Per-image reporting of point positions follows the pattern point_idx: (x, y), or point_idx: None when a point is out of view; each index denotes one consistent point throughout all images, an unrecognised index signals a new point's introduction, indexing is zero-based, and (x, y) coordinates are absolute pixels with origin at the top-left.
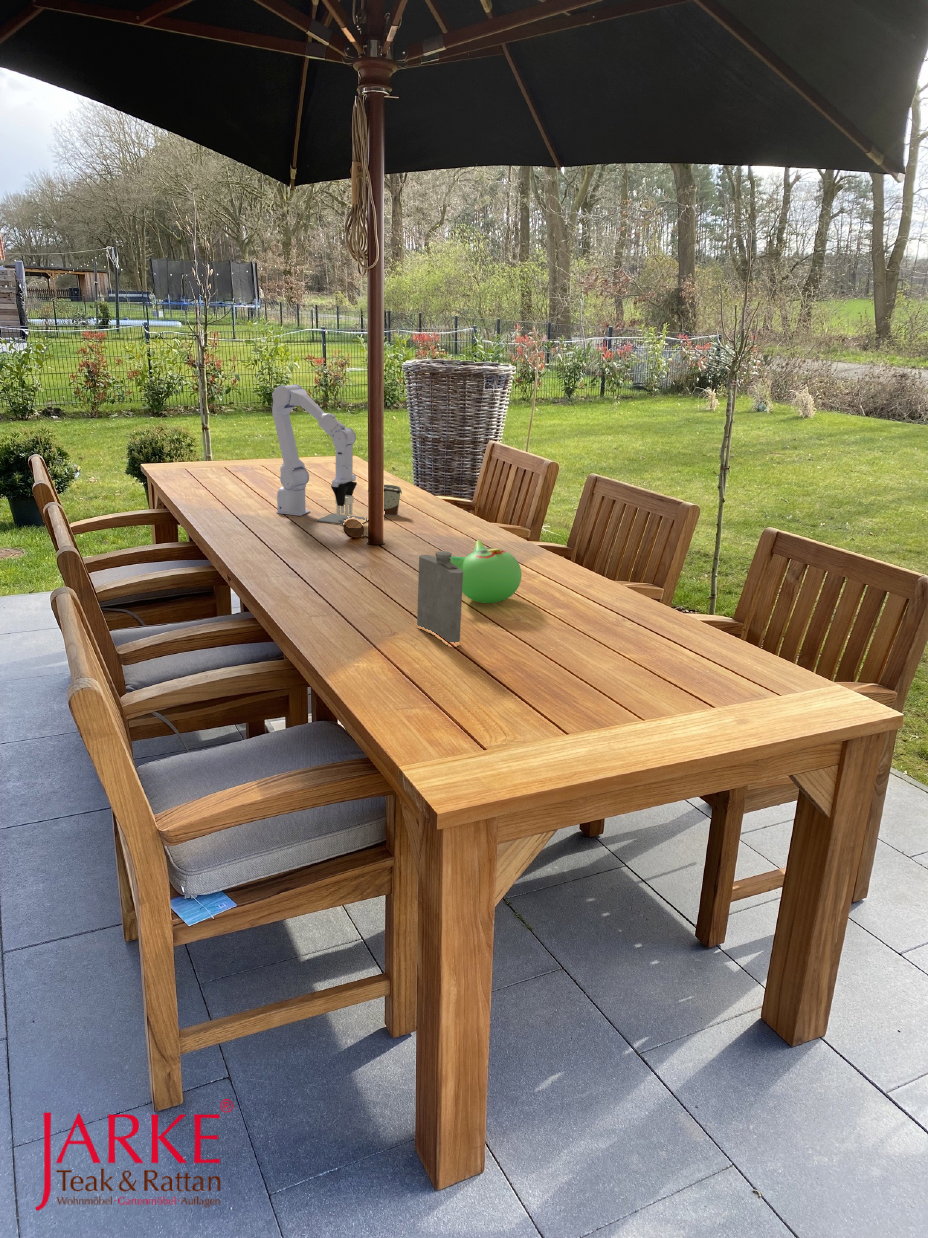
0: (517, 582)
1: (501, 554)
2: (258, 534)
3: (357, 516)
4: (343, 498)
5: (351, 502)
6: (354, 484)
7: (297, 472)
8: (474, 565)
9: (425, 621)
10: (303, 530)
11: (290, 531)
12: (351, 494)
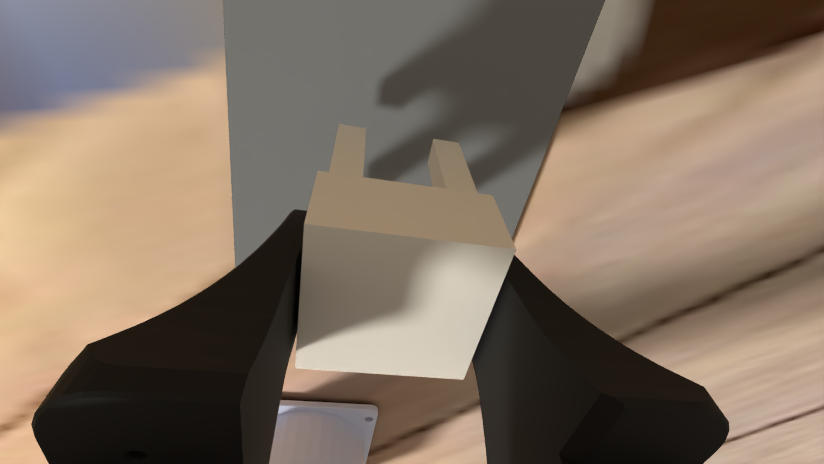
0: None
1: None
2: (774, 418)
3: (230, 85)
4: (547, 288)
5: (381, 186)
6: (251, 377)
7: None
8: None
9: None
10: (712, 304)
11: (730, 345)
12: (289, 265)
